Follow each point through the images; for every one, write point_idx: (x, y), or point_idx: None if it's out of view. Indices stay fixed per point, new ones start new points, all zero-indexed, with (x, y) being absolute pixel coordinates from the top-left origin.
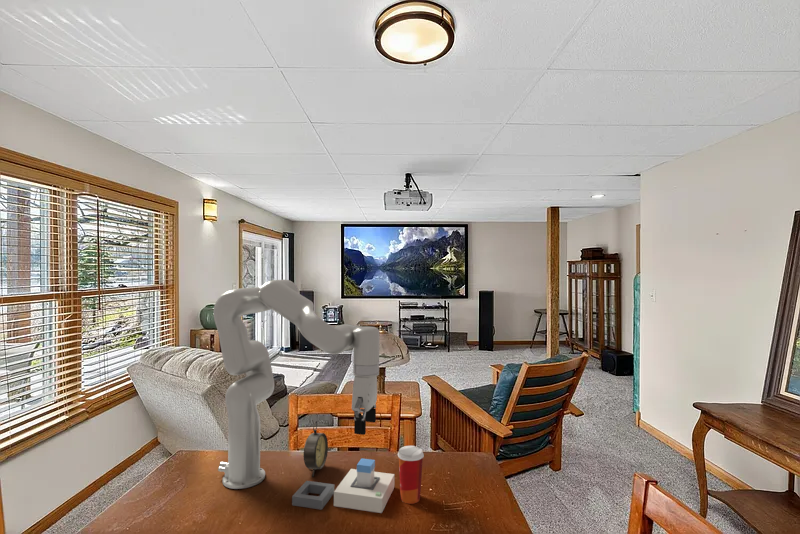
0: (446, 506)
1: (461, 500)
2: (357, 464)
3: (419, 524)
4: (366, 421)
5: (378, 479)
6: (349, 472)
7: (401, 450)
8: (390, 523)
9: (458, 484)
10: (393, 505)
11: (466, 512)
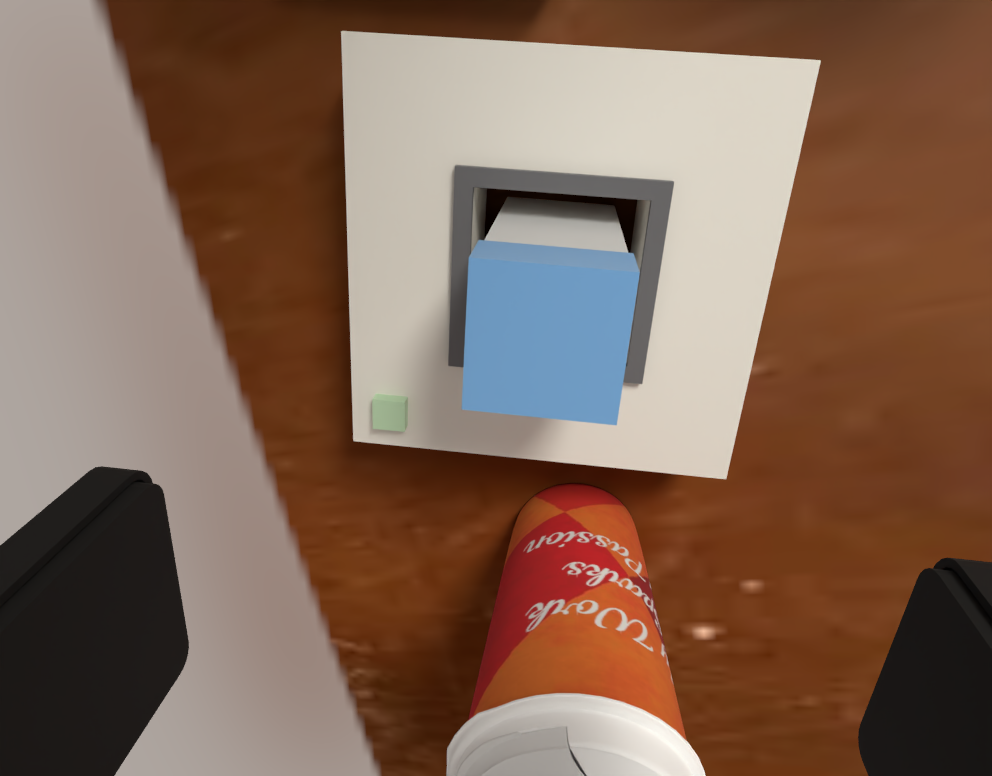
0: None
1: None
2: (475, 264)
3: (334, 589)
4: (915, 585)
5: None
6: (733, 68)
7: (559, 764)
8: (298, 457)
9: (769, 758)
10: None
11: None
